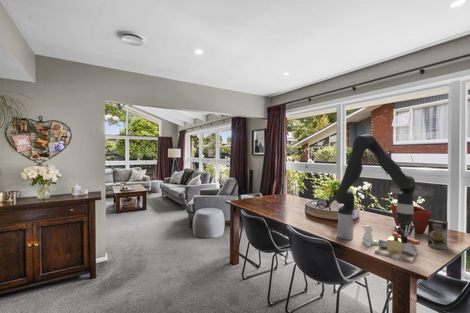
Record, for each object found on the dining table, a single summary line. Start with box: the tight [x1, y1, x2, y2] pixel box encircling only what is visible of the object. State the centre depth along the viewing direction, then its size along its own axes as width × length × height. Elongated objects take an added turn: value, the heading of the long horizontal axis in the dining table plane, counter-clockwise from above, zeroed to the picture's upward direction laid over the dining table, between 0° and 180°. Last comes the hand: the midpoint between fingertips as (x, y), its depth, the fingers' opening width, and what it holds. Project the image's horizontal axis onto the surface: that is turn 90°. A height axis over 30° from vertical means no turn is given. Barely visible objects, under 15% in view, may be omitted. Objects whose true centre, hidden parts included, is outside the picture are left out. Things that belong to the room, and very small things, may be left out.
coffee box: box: [427, 218, 449, 250], centre depth 146 cm, size 9×6×16 cm
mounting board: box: [374, 246, 419, 264], centre depth 136 cm, size 18×16×2 cm
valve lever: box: [391, 231, 421, 246], centre depth 131 cm, size 15×4×3 cm, turn 12°
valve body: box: [377, 236, 416, 256], centre depth 136 cm, size 17×7×7 cm, turn 44°
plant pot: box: [390, 205, 432, 234], centre depth 176 cm, size 19×19×17 cm
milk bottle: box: [404, 222, 416, 248], centre depth 148 cm, size 8×8×20 cm
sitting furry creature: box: [362, 224, 379, 247], centre depth 151 cm, size 10×9×12 cm
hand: (404, 242), depth 127 cm, fingers closed
